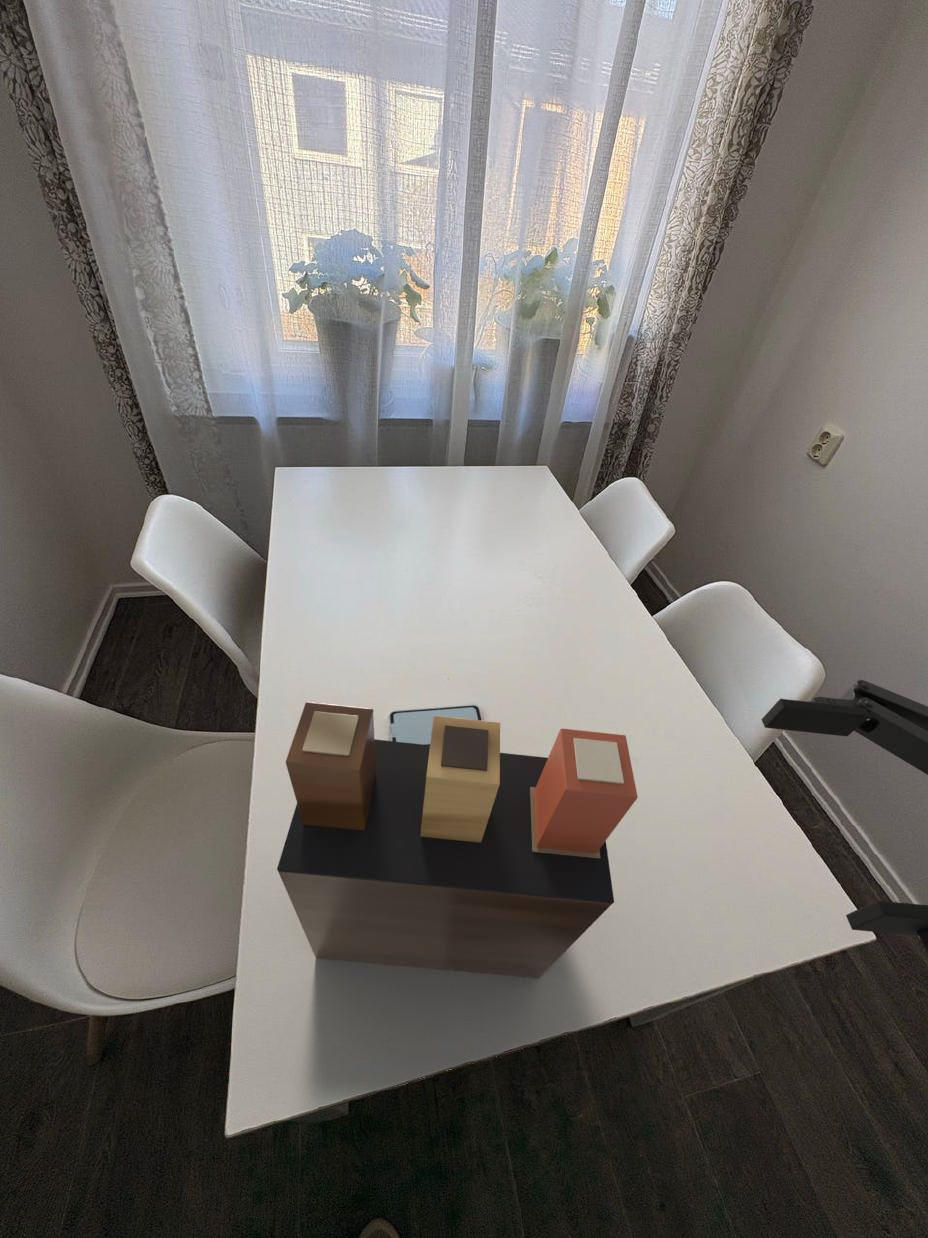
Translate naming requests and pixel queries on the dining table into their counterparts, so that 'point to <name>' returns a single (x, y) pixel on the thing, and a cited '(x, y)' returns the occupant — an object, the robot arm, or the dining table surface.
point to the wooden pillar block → (461, 778)
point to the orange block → (583, 790)
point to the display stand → (436, 925)
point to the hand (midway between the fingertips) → (810, 799)
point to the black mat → (418, 860)
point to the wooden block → (333, 765)
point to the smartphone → (425, 721)
